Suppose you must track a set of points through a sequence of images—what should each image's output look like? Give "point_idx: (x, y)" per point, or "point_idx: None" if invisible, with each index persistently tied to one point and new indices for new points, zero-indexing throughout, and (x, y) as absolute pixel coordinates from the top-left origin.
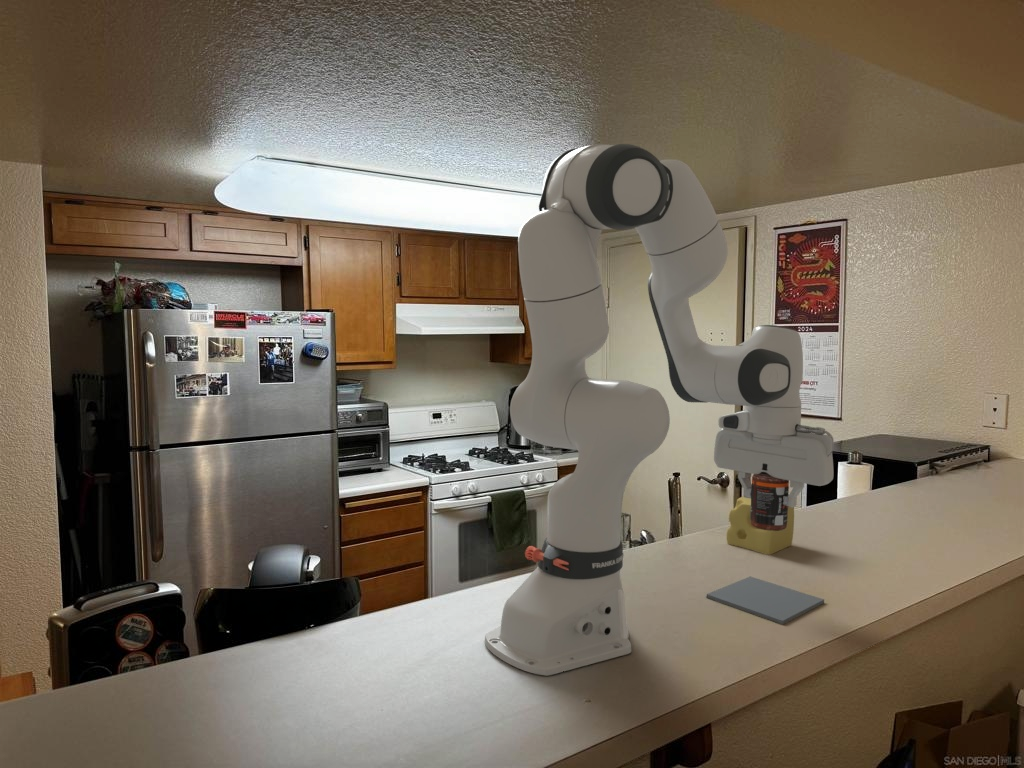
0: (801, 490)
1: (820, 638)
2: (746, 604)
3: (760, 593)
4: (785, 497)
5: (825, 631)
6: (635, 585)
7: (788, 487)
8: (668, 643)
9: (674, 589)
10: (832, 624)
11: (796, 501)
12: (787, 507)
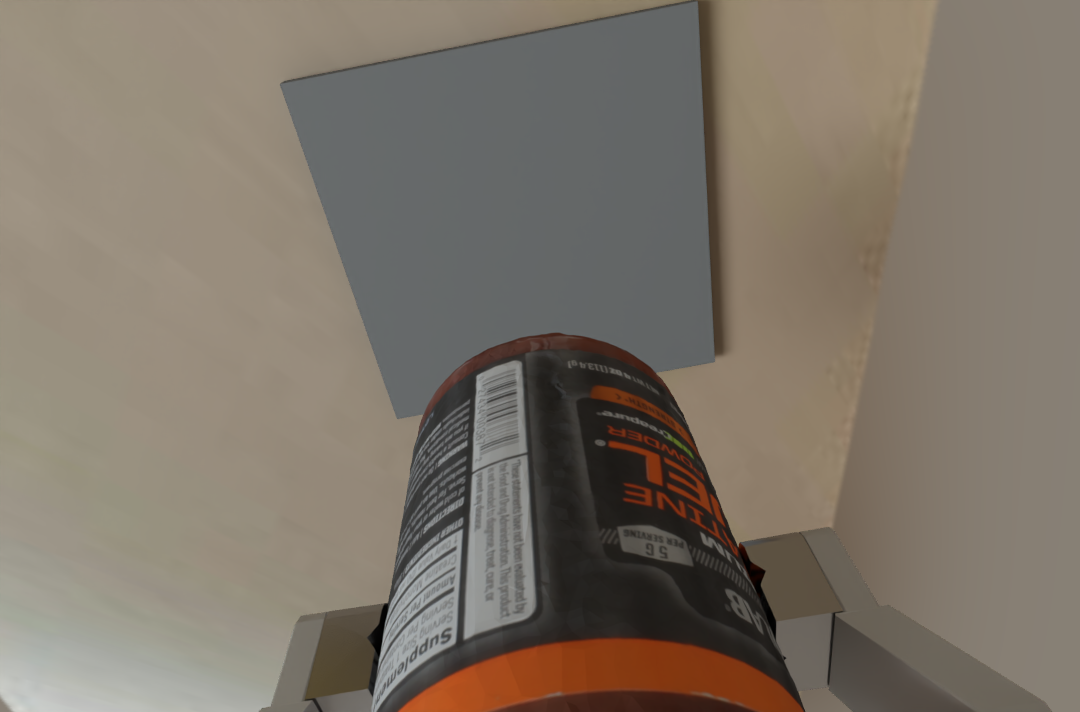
0: (976, 659)
1: (850, 330)
2: None
3: (488, 229)
4: (797, 681)
5: (838, 269)
6: (201, 537)
7: (795, 690)
8: None
9: (282, 454)
10: (830, 191)
11: (849, 556)
12: (719, 505)
